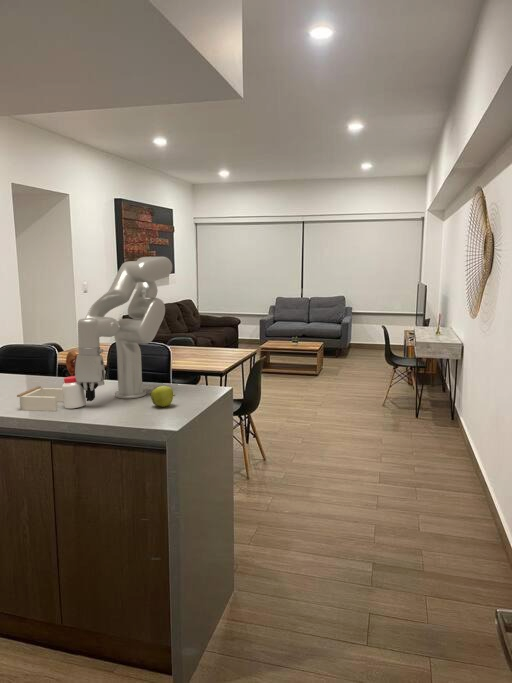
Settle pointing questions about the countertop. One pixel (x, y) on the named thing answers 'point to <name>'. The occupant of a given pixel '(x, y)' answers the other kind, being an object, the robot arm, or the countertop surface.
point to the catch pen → (41, 399)
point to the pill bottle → (73, 393)
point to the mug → (71, 362)
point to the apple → (162, 396)
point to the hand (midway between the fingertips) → (90, 400)
